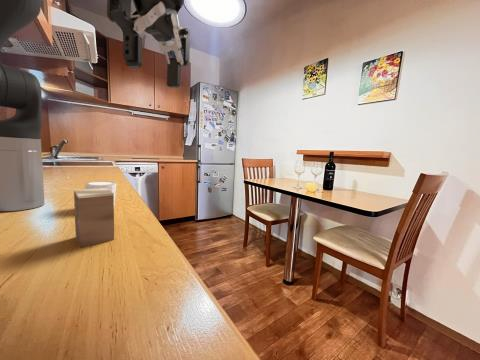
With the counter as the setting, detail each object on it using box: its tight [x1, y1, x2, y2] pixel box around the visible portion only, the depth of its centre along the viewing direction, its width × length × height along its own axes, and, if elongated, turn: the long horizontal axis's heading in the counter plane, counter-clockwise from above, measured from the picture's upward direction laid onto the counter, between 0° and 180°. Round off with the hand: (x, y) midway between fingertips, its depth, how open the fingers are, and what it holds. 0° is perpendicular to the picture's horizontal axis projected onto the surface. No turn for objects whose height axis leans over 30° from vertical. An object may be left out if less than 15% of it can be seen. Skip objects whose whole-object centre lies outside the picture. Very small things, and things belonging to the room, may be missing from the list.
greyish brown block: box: [73, 188, 115, 248], centre depth 37 cm, size 5×5×9 cm
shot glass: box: [84, 180, 117, 204], centre depth 54 cm, size 7×7×7 cm
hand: (155, 78), depth 31 cm, fingers open, 8 cm apart
